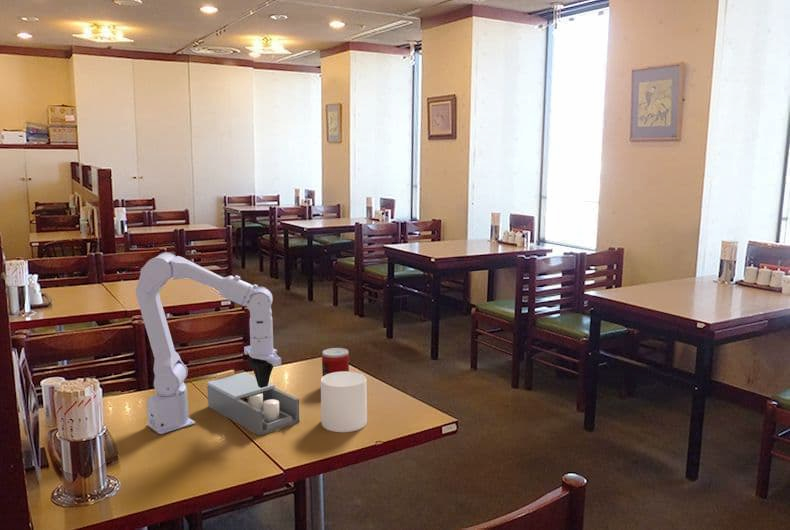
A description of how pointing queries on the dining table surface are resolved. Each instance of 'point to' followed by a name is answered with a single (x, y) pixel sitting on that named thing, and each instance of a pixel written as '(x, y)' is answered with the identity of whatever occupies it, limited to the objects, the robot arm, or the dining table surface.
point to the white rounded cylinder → (271, 410)
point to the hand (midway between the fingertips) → (263, 386)
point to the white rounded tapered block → (256, 400)
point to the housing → (255, 410)
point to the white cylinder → (343, 401)
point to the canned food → (335, 360)
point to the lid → (237, 384)
